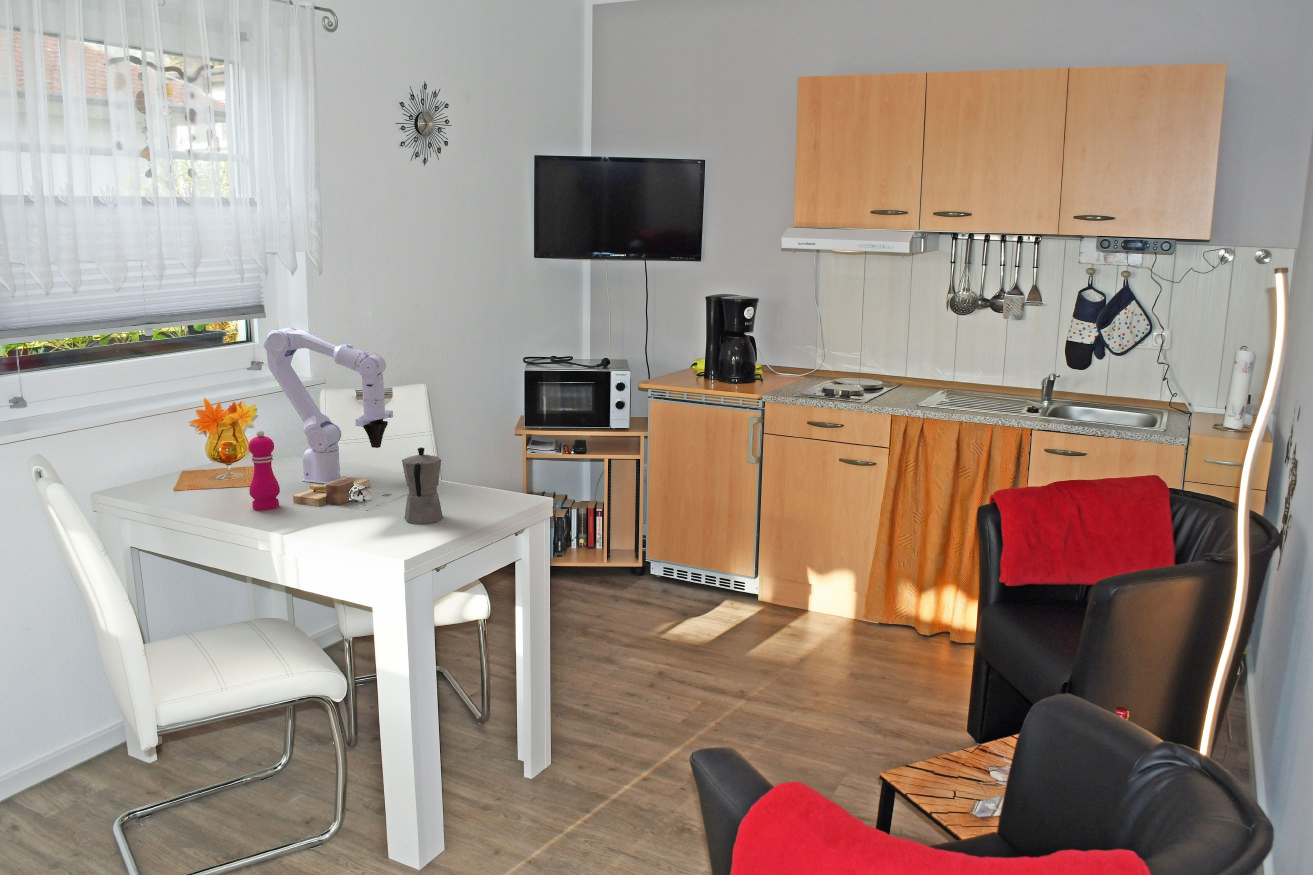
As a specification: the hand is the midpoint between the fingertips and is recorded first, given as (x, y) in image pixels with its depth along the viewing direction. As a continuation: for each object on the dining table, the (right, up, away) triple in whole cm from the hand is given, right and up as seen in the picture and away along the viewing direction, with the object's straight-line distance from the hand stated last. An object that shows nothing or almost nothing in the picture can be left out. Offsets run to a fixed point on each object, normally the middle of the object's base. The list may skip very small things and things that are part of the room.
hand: (376, 447), depth 272 cm
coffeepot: (+21, -18, -33) cm, 43 cm away
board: (-8, -13, -12) cm, 19 cm away
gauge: (-7, -14, -17) cm, 23 cm away
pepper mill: (-21, -15, -24) cm, 35 cm away
